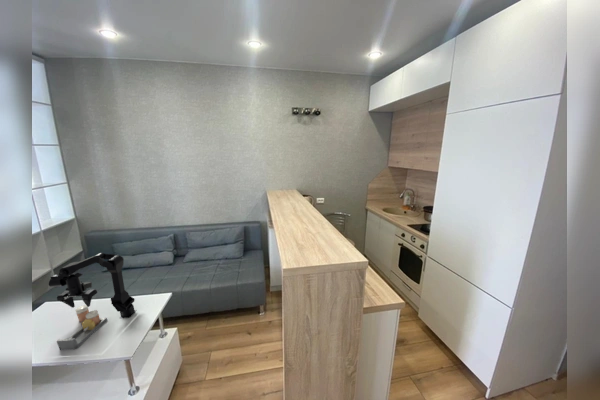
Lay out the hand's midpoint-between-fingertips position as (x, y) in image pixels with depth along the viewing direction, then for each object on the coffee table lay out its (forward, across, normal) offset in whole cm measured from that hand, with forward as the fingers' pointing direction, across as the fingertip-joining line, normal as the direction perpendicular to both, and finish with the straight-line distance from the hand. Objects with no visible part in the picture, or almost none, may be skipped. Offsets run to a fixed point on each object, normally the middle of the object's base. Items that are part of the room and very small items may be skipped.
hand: (81, 306), depth 135 cm
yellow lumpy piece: (+8, -11, +10) cm, 17 cm away
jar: (+9, 0, 0) cm, 9 cm away
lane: (+9, -11, +12) cm, 18 cm away
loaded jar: (+8, -11, +6) cm, 15 cm away
